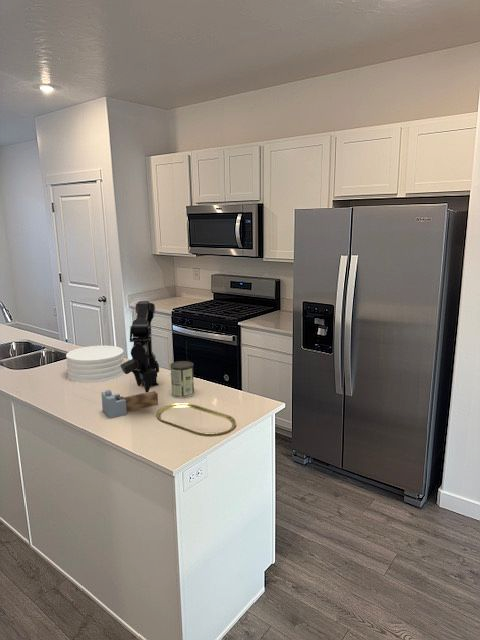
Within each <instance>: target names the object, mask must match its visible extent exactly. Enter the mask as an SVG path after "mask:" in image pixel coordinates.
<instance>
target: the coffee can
mask: <svg viewBox="0 0 480 640" xmlns="http://www.w3.org/2000/svg"><path fill="white" fill-rule="evenodd" d="M169 367H170V381H171V385H170V386H171V396H172V397H174V398H179V399H186V398H190V397H192V396H194V394H195V384H194V383H195V382H194V363H193V362H191V361H188V360H179V361H174V362H172V363H170V365H169Z"/></svg>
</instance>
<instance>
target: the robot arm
mask: <svg viewBox="0 0 480 640" xmlns="http://www.w3.org/2000/svg"><path fill="white" fill-rule="evenodd" d="M135 313H136V319H134V320H133V321H132V323H131V325H130V327H129V328H130V329H129V342H130V343H133V345H132V348H131V349H130V356H131V359H128V360H127V361H124V363H123V364H121V365H120V366H121V368H122V370H123V372H124V374H126V375H129V374H130V373H132V374H133V376H134V378H135V382H136V384H137V386H138V387H140V386H143V387H144V390H145V391H144V392H145V393H147V392H150V390H151V387H154V386H159V383H158V381H157V378H158V373H160V365H159V363H158V360H157V357H156V354H155V353H154V352H153V342H152V341H153V339H152V337H153V336H152V321H153V319H154V317H155V314H156V305H155V303H153V302H150V301H148V300H141V301H138V302H137V303H135Z"/></svg>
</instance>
